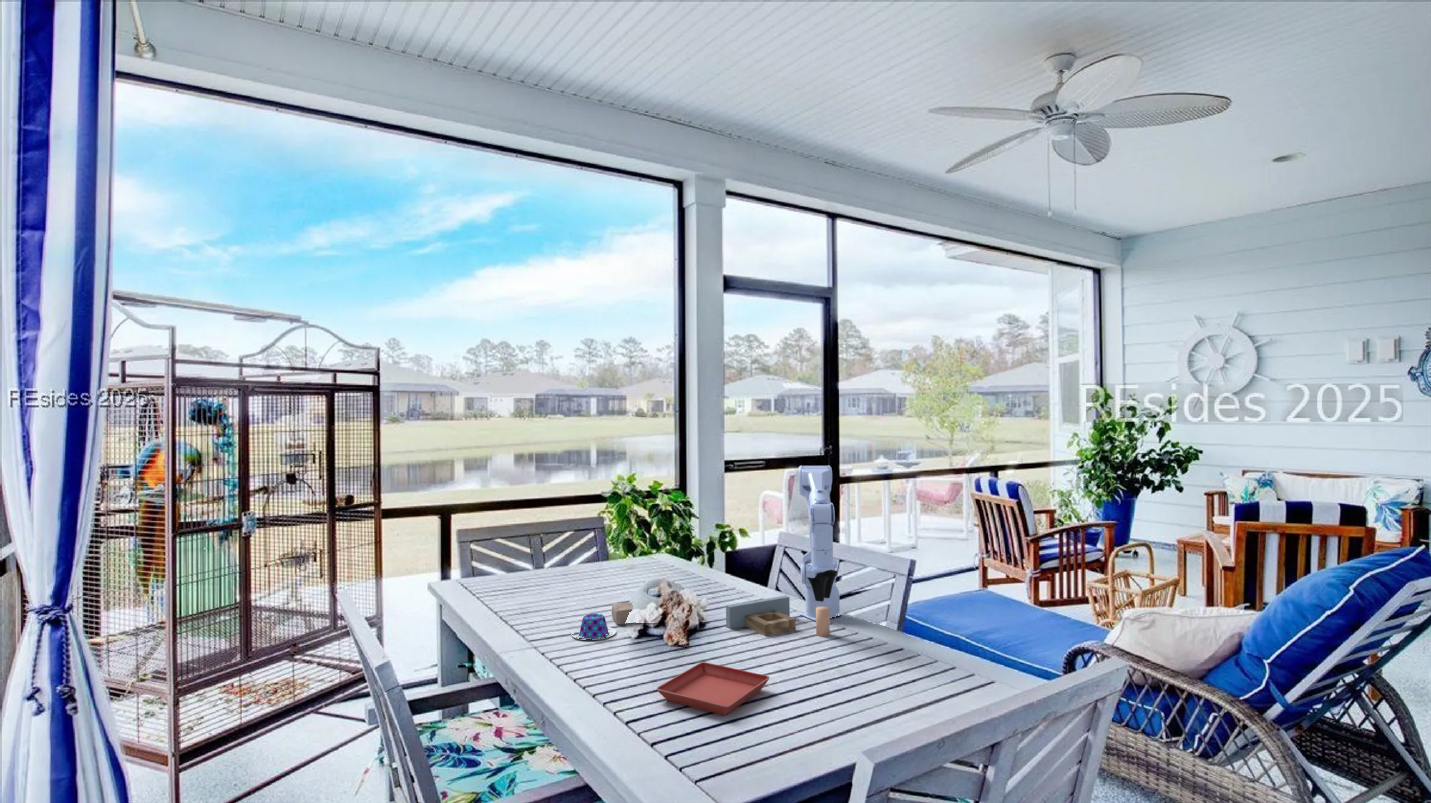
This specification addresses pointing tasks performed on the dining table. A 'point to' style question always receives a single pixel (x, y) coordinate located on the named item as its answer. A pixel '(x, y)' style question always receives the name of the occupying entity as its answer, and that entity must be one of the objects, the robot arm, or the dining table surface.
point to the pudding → (594, 627)
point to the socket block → (770, 622)
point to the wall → (755, 609)
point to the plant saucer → (713, 687)
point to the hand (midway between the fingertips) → (822, 599)
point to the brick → (621, 612)
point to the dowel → (822, 621)
